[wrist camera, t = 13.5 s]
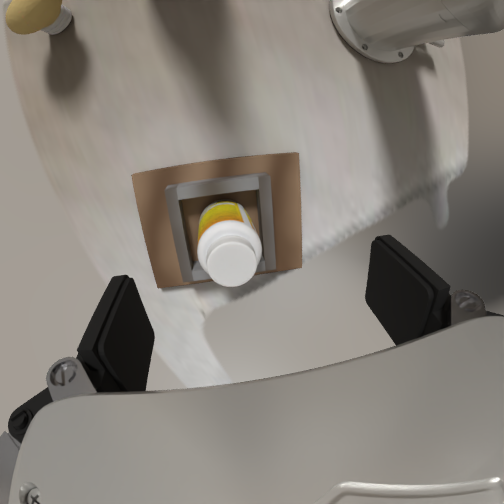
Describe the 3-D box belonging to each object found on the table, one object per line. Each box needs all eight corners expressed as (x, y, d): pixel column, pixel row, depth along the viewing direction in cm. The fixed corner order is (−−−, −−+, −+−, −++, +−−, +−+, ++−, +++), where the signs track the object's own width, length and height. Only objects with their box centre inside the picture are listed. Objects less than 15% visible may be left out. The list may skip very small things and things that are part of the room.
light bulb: (61, 51, 20) (15, 33, 11) (32, 38, 17) (-13, 23, 8) (93, 7, 18) (58, -24, 9) (61, -3, 16) (24, -29, 7)
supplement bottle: (188, 226, 30) (181, 270, 21) (221, 187, 29) (228, 216, 20) (227, 255, 33) (235, 307, 23) (259, 219, 31) (282, 260, 22)
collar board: (296, 152, 30) (306, 155, 26) (299, 264, 36) (308, 277, 33) (133, 173, 28) (124, 179, 25) (158, 284, 34) (154, 299, 31)
